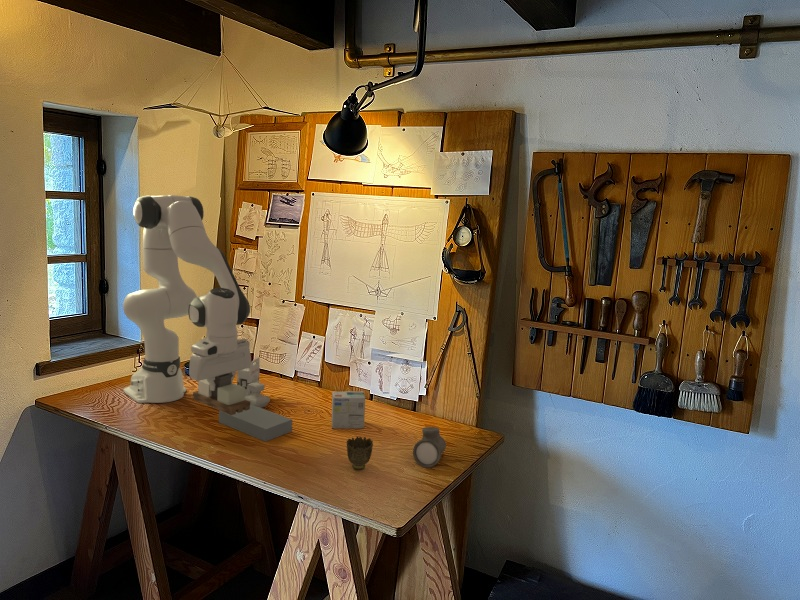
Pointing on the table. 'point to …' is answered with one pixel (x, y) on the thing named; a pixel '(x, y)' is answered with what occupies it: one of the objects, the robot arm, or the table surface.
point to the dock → (257, 423)
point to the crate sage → (231, 394)
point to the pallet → (213, 402)
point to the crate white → (204, 388)
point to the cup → (359, 452)
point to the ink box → (248, 376)
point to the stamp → (257, 395)
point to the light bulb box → (348, 409)
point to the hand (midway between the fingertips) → (221, 388)
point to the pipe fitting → (429, 447)
